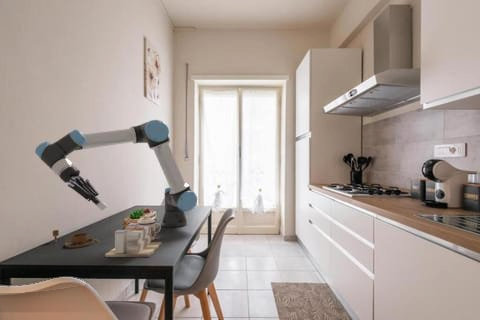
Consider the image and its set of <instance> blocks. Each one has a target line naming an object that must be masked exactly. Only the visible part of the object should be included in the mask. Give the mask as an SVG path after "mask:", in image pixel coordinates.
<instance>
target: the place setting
mask: <svg viewBox="0 0 480 320" xmlns="http://www.w3.org/2000/svg"><path fill="white" fill-rule="evenodd" d="M59 233H60V230H58V229H56V230H55V229H54V230H52V236H53V237H54V243H57V242H58V239H57V237H58V236H59V235H60V234H59ZM86 242H87V243H86ZM94 242H97V243H100V241H99V239H98V238H91V237H90V238H89V233H86V232H84V233H83V232H82V233H81V232H80V233H74V234H72V235H70V240H68V241H65V243H64V246H65V247H66V248H68V249H77V248H78V249H79V248H84V247H87V246H88V247H89V246H91V245H93V244H94ZM56 246H57V247H58V246H59V245H58V244H55V245H54V247H56Z"/></svg>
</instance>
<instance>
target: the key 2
mask: <svg viewBox="0 0 480 320" xmlns="http://www.w3.org/2000/svg"><path fill="white" fill-rule="evenodd" d="M138 225H139V223H137V222H130V223H128V224H127V227H128V226H136V229H137V228H138Z"/></svg>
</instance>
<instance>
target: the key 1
mask: <svg viewBox="0 0 480 320" xmlns="http://www.w3.org/2000/svg"><path fill="white" fill-rule="evenodd" d="M114 248H115V253H124V252H126V251H127V230H125V229H117V230H115V231H114Z"/></svg>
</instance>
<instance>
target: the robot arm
mask: <svg viewBox="0 0 480 320" xmlns="http://www.w3.org/2000/svg"><path fill="white" fill-rule="evenodd" d="M169 134H170V130H169V126H168V125H167V124H166V123H165V122H164V121H163V120H159V119H151V120H149V121H146V122H144V123H141V124H139V125H134V126H130V127H129V128H124V129H117V130H116V129H115V130H108V131H101V132H99V131H98V132H93V133H92V132H91V133H85V134H83V133H82V132H81V131H80V130H79V129H74V130H72V131H70V132H68V133H67V134H66V135H63V137H61V138H59V139H58V140H56V141H55V142H53V143H52V142H50V141H44V142H42V143H40V144H39V145H37V147H36V148H35V150H34V151H35V152H34V153H35V154H36V155H37V157H38V158H39V159H40V160H41V161H42V162H44V164H45V165H46V166H47V167H49V169H51V171H53V172H54V175H57V176H58V177H59V178H60V179H61V180H62V181H63V182H64V183H66V184H67V183H68V184H67V187H69V188H70V189H72V190H73V191H75V192H76V194H78V195H80V196H81V197H82V198H84V199H85V200H86V201H87V202H90V201H91V202H92V203H93V204H94V205H95V206H96V207H97V208H98V209H99V210H101V212H102V211H104V210H105V209H106V208H107V207H108V204H106V203H105V202H104V201H103V200H102V199H101V198H100V196H99V192H98V191H97V190H96V188H95V187H94V185H93V184H91V182H90V181H89V179H84V178H83V177H82V176H80V173H81V171H80V170H79V169H78V167H77V166H76V165H74V164H73V163H72V161H70V160H69V159H68V158H67V156H69V155H70V154H71V153H73V152H75V151H79V150H86V149H93V148H94V149H95V148H100V147H108V146H115V145H122V144H128V143H132V144H147V146H148V148H149V149H150V150H153V152H154V153H155V157H156V158H157V160H158V163H159V165H160V168H161V171H162V172H163V175H164V176H165V178H166V182H167V184H168V186H169V187H166V188H165V189H164V214H163V217H162V219H161V227H164V228H179V227H180V228H181V227H185V226H187V225H188V219H187V216H186V214H185V212H190V211H192V210H194V209H195V207H196V206H197V204H198V196H197V194H196V193H195V191H192V190H191V187H190V184H188V183H186V182H185V180H184V177H183V176H182V172H181V170H180V168H179V166H178V163H177V161H176V158H175V156H174V153H173V151H172V149H171V146H170V142H171V139H170V137H169Z"/></svg>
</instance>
